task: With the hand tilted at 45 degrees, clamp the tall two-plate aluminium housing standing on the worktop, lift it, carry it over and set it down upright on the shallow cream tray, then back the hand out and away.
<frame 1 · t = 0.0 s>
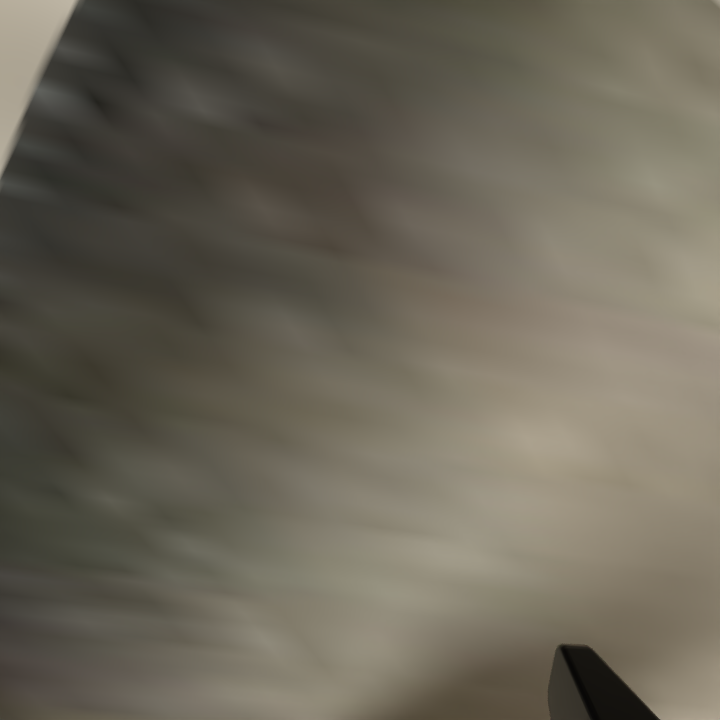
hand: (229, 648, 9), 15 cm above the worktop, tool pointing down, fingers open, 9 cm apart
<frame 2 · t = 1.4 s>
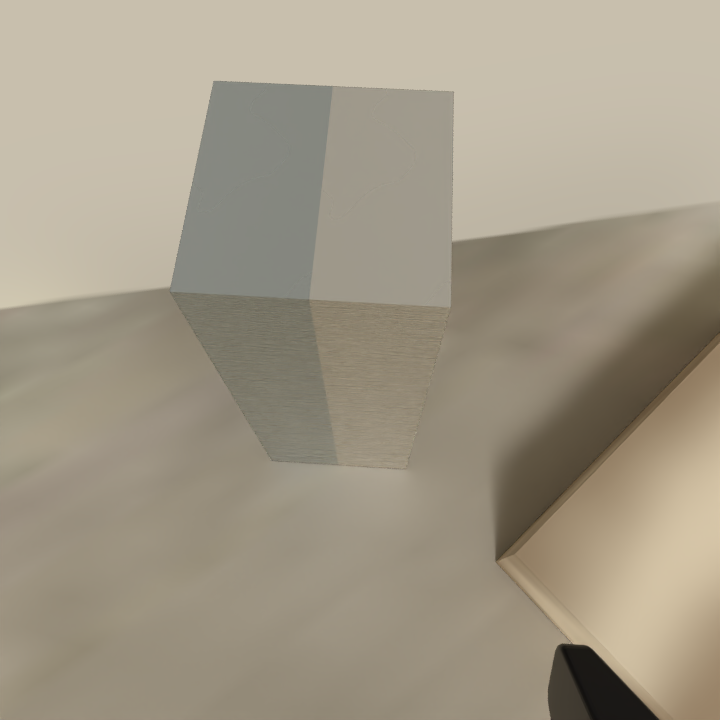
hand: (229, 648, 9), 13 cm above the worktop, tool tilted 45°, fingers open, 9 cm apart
housing: (343, 401, 24), on the worktop
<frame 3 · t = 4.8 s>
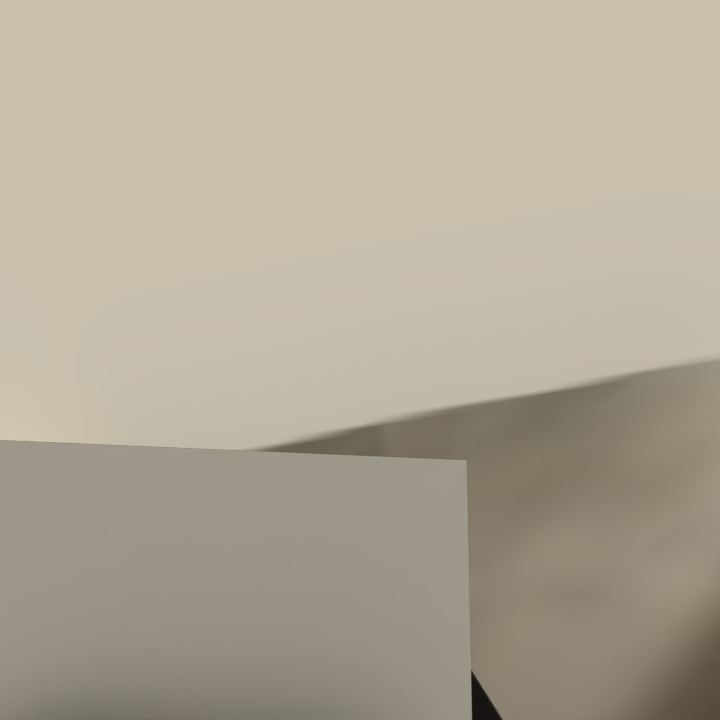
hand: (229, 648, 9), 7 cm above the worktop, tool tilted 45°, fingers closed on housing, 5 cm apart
housing: (278, 710, 14), on the worktop, touching gripper
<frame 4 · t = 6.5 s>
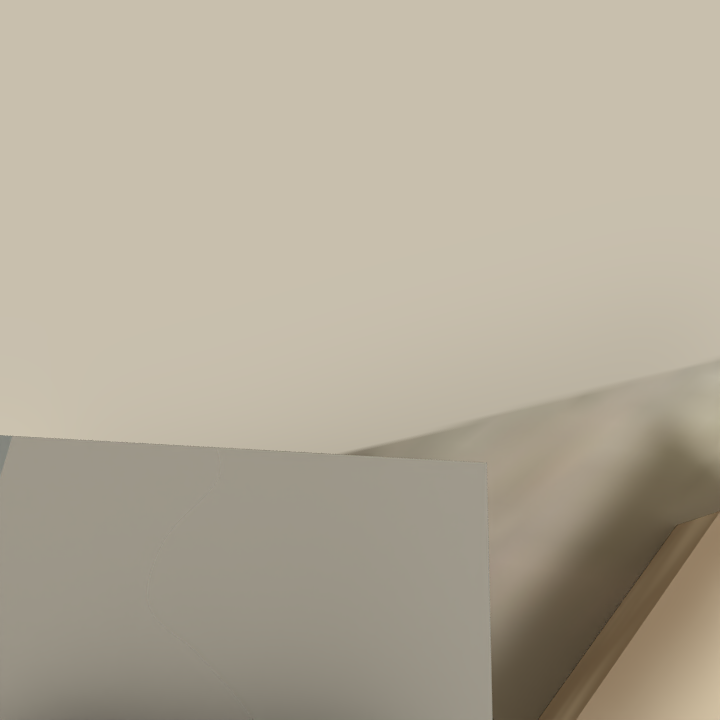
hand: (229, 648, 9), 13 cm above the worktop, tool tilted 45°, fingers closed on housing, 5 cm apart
housing: (282, 709, 14), point 7 cm above the worktop, touching gripper
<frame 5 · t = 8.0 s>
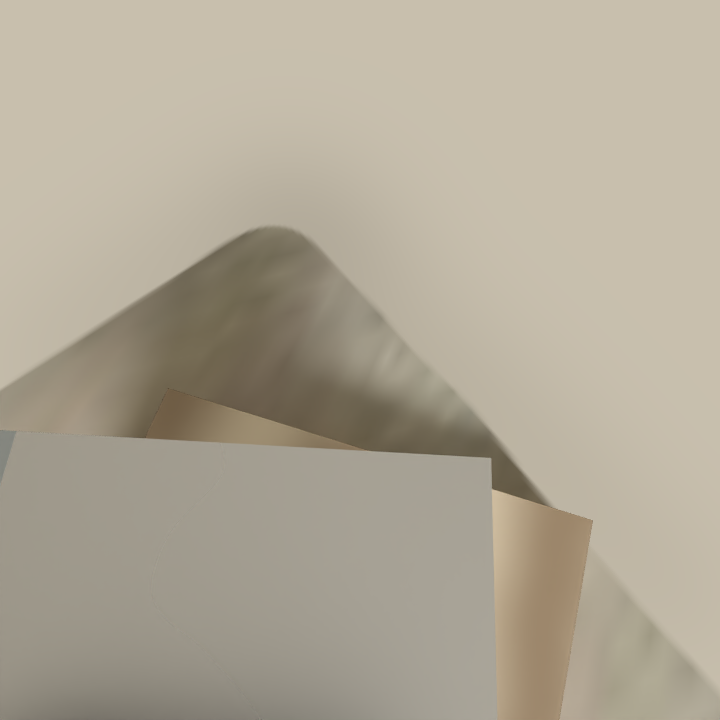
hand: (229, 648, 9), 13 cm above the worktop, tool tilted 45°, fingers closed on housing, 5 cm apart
housing: (282, 708, 14), point 6 cm above the worktop, touching gripper
shallow cream tray: (303, 681, 20), on the worktop
when the fingers open (11 cm above the worktop, at t = 8.7 s): housing drops 1 cm, resting on shallow cream tray.
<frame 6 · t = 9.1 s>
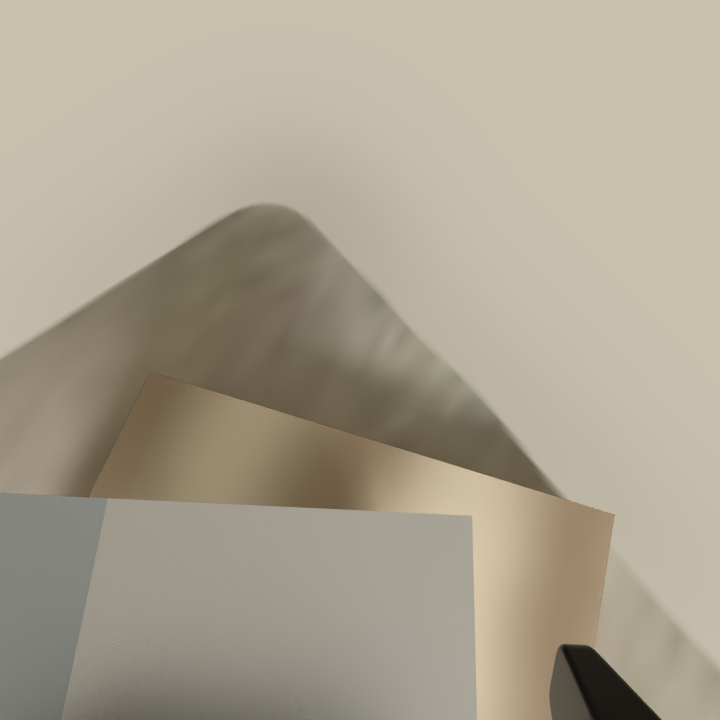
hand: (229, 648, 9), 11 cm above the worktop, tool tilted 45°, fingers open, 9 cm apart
housing: (287, 704, 15), point 3 cm above the worktop, touching shallow cream tray
shallow cream tray: (297, 691, 18), on the worktop
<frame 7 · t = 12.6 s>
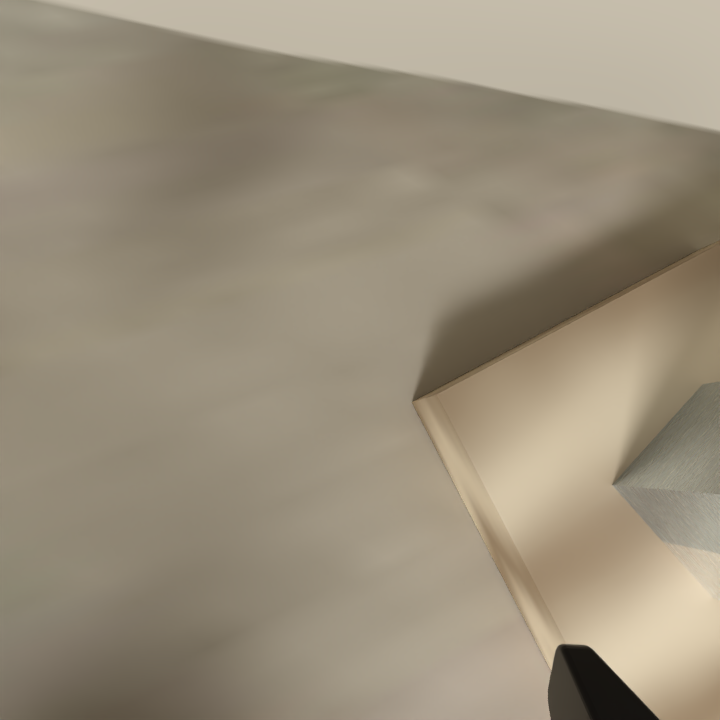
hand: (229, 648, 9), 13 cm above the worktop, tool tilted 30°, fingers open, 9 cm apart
housing: (707, 488, 21), point 3 cm above the worktop, touching shallow cream tray
shallow cream tray: (650, 482, 24), on the worktop
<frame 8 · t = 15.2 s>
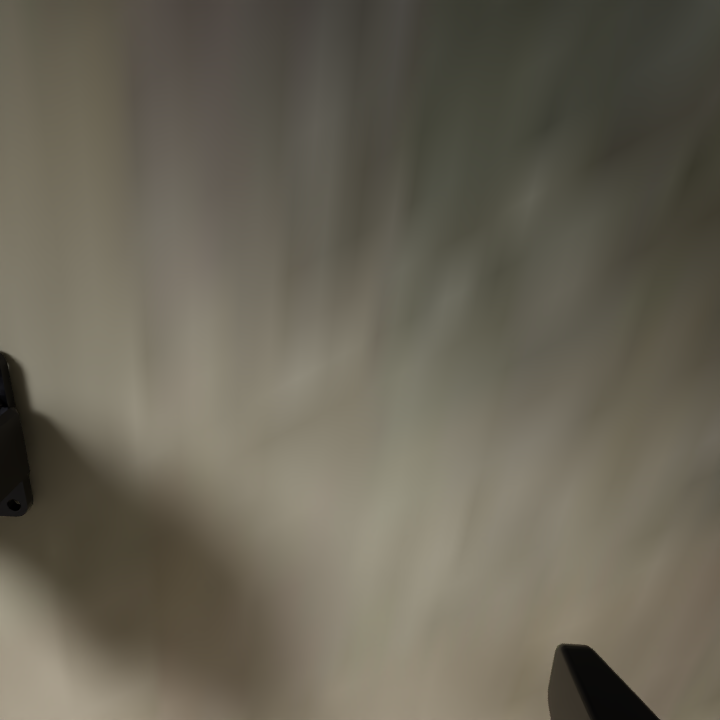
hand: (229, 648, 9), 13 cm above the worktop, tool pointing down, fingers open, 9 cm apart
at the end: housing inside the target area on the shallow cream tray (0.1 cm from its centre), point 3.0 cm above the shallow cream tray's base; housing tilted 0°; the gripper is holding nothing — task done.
